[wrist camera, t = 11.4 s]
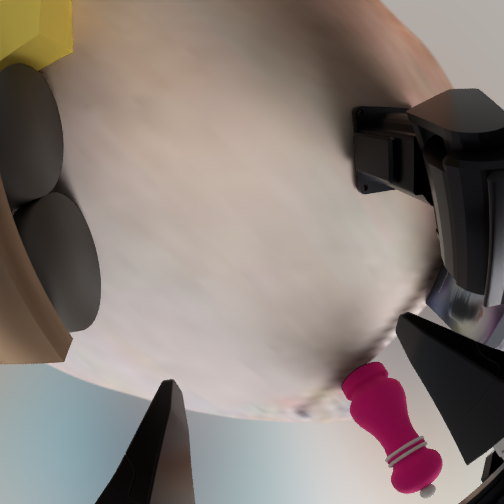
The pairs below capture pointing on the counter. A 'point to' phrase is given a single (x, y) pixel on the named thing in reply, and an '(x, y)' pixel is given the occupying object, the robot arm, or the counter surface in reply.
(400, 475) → the pepper mill
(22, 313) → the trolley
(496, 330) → the small box
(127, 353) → the counter surface
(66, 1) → the block
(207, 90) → the counter surface
